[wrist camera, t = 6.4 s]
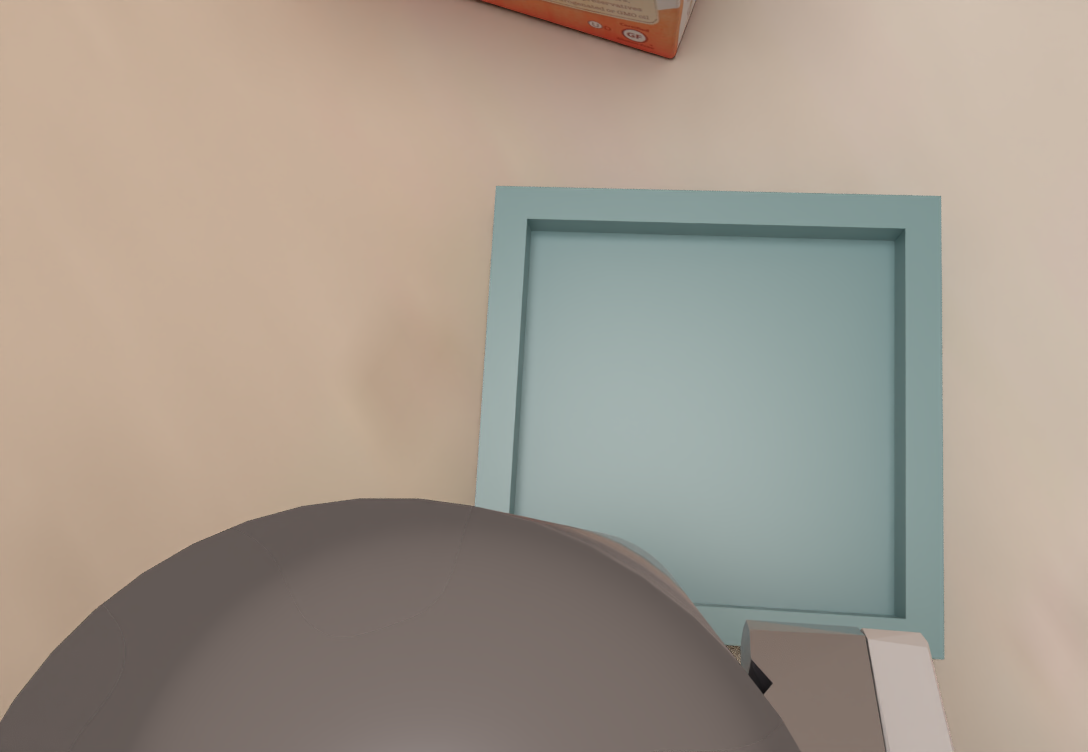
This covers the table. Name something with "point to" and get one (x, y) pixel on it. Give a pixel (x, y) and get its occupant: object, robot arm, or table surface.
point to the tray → (728, 393)
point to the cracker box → (616, 19)
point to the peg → (396, 646)
